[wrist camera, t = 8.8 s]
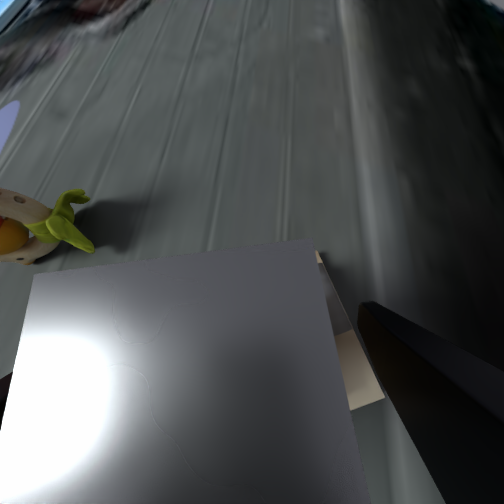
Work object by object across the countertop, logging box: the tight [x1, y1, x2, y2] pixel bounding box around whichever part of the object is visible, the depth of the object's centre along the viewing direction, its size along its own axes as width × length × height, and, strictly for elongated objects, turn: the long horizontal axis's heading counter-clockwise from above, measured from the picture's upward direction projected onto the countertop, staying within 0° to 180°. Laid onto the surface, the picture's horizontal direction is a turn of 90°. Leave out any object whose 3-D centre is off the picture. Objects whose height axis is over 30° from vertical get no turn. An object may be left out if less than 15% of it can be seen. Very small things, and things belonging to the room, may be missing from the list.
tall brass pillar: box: [0, 238, 371, 504], centre depth 9 cm, size 5×5×13 cm
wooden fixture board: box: [315, 251, 385, 411], centre depth 15 cm, size 10×14×3 cm
